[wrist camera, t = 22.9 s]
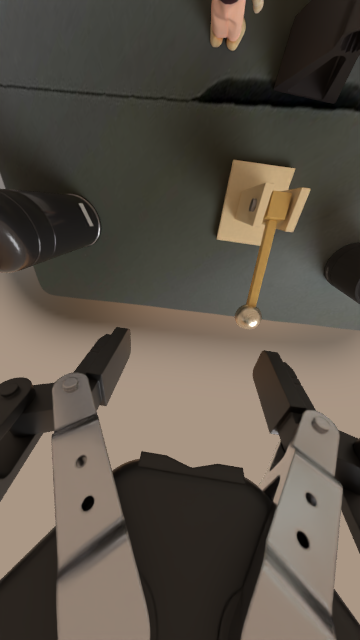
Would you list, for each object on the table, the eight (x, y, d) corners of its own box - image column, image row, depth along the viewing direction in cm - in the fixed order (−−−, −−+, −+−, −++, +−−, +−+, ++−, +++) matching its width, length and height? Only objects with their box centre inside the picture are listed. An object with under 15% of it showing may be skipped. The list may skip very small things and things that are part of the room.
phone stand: (272, 90, 26) (318, 17, 16) (294, 18, 23) (367, -128, 13) (333, 104, 27) (415, 41, 16) (362, 35, 23) (488, -96, 13)
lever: (253, 327, 29) (262, 334, 25) (230, 323, 29) (235, 330, 25) (285, 203, 24) (301, 191, 21) (258, 199, 24) (269, 186, 21)
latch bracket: (265, 245, 37) (299, 266, 25) (216, 238, 37) (224, 255, 25) (292, 169, 31) (356, 145, 18) (232, 161, 31) (254, 130, 18)
